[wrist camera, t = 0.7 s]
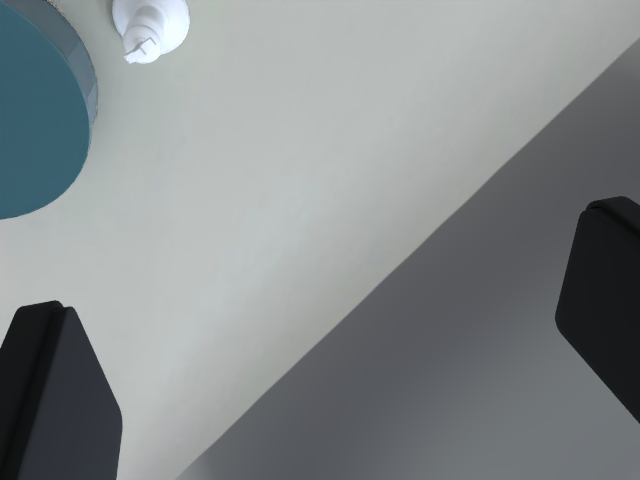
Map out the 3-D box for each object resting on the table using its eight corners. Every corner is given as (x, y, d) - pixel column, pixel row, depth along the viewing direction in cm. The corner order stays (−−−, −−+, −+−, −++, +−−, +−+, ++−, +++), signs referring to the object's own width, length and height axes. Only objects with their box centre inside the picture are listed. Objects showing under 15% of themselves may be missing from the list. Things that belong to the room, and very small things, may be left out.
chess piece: (95, 3, 33) (64, 40, 25) (155, -43, 33) (143, -20, 25) (148, 67, 36) (135, 119, 28) (204, 26, 35) (208, 67, 27)
